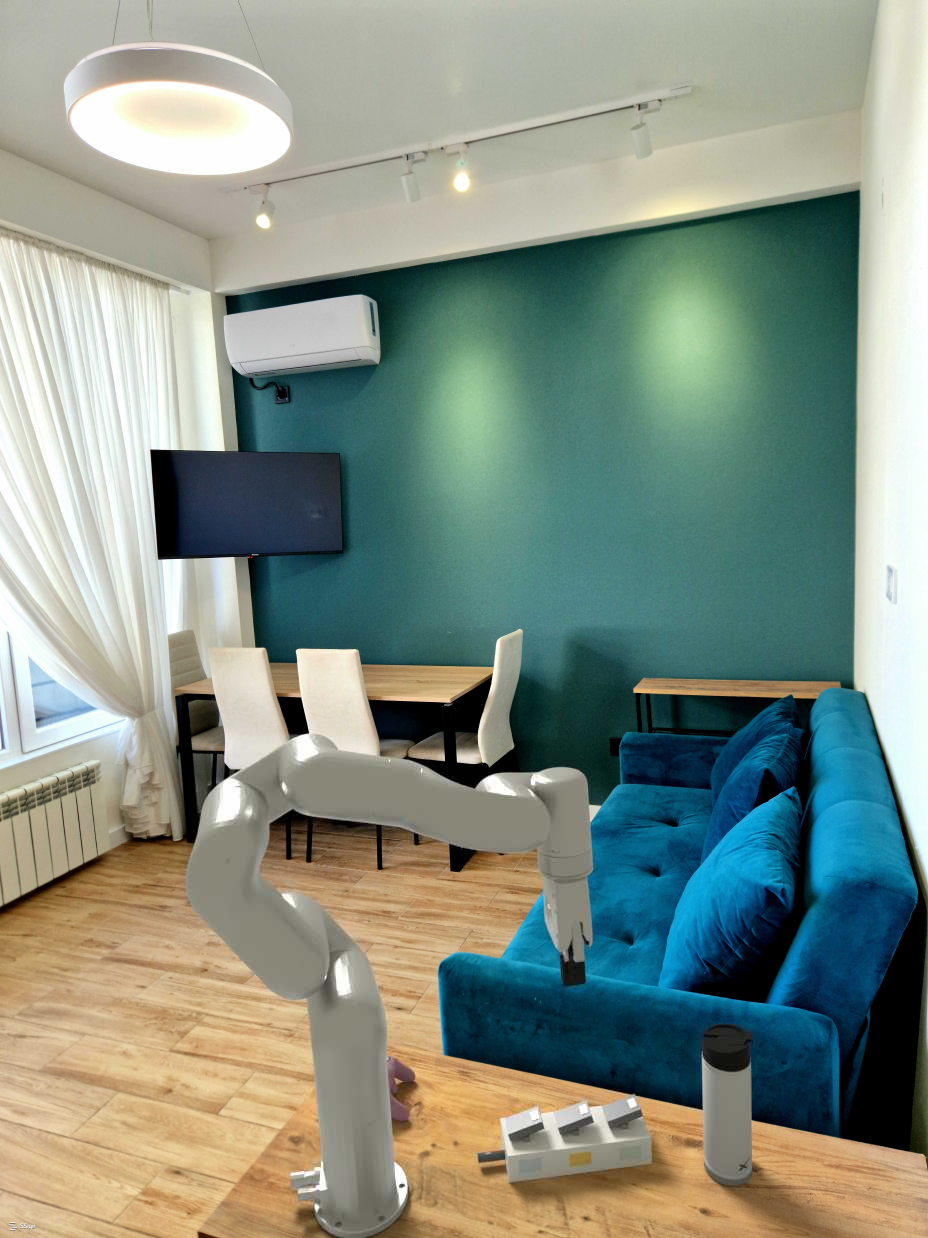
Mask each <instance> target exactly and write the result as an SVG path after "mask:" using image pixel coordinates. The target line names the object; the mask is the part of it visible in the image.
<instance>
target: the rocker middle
mask: <svg viewBox="0 0 928 1238" xmlns="http://www.w3.org/2000/svg"><path fill="white" fill-rule="evenodd" d="M589 1107H590V1106H589V1103H588V1101H587V1099H585V1100H582V1101H580V1102H577V1103H574V1104H572V1105H569V1106H567V1107H564V1108H561V1109H559V1110H556V1112H555V1111H552V1112H553V1113H554V1116H555V1120H556V1123H557V1127H558V1130H559V1133H560V1135H563V1134H565V1133H568V1132H571V1131H573V1130H576V1129H579V1128H581V1127H584V1126H586V1125H589V1124H592V1123H594V1120H593V1118H592V1115H591V1112H590V1109H589Z"/></svg>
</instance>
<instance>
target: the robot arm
mask: <svg viewBox="0 0 928 1238" xmlns="http://www.w3.org/2000/svg"><path fill="white" fill-rule="evenodd" d="M588 785H589V784H588V780H587V777H586V775H585V774H584V772H582V771H580V770H579V769H577V768H572V767H565V766H558V767H551V768H546V769H543V770H540V771H537V772H536V771H535V772H499V773H493V774H491V775H488V776H486V777H485V778H483V779H482V780H480V782H479V783H478V784H477V785H476V787H475V788H473V787H469V786H467V785H463V784H460V783H459V782H455V781H452V780H451V779H448V778H446V777H445V776H442V775H440V774H439V773H437V772H435V771H434V770H432V769H430V768H429V767H427V766H425V765H423V764H420V763H419V762H415V761H413V760H410V759H404V758H403V759H402V758H396V757H391V756H390V757H388V756H381V755H375V754H369V753H362V752H355V751H354V752H353V751H347V750H341V749H338V747H337V745H336V744H335V742H334V741H332V740H331V739H330V738H329V737H327V736H324V735H323V734H320V733H319V734H317V733H305V734H301V735H298V736H296V737H295V736H294V737H293V738H291V739H289V740H288V741H286V742H284V743H282V744H281V745H279V746H277V747H275V749H273V750H271V751H269V752H267V753H266V754H264V755H262V756H261V757H259V758H258V759H257V760H254V761H253V762H251V763H250V764H248V765H246V766H245V767H243V768H241V769H240V770H239V771H237V772H235V773H233V774H232V775H230V776H228V777H227V778H225V779H224V780H223V781H221V782H220V783H218V784H217V785H216V786H215V787H214V788H213V789H212V790H211V791H210V792H209V793H208V795H207V796H206V798H205V800H204V802H203V805H202V807H201V808H202V809H201V811H200V812H201V813H200V818H199V819H200V820H199V825H198V830H197V834H196V838H195V842H194V844H193V847H192V849H191V853H190V857H189V859H188V863H187V866H186V871H185V878H184V879H185V880H184V881H185V882H184V883H185V890H186V891H185V892H186V895H187V899H188V901H189V904H190V905H191V907H192V909H193V910H194V912H195V914H196V915H198V916H199V918H200V919H201V920H202V921H203V923H204V924H206V925H207V926H208V927H209V929H211V931H213V932H214V933H215V935H217V936H218V937H219V938H220V939H221V940H222V942H224V943H225V945H226V946H227V947H228V948H229V949H230V950H231V951H232V953H234V954H235V955H236V956H237V957H238V959H239V960H241V962H243V964H245V966H246V967H247V968H248V969H249V970H250V971H251V972H252V973H253V974H254V975H255V976H256V977H257V978H258V979H259V980H260V981H261V983H262V984H263V985H265V987H266V988H267V989H268V990H269V991H271V992H272V993H274V994H275V996H279V997H281V998H282V999H285V1000H290V1001H302V1000H306V1008H307V1015H308V1026H309V1034H310V1042H311V1043H310V1044H311V1045H310V1046H311V1051H312V1052H311V1053H312V1063H313V1064H312V1066H313V1076H314V1077H313V1078H314V1079H313V1080H314V1088H315V1099H316V1107H317V1109H316V1110H317V1119H318V1129H319V1141H320V1142H319V1143H320V1152H321V1153H320V1154H321V1165H320V1166H315V1167H314V1170H308V1171H307V1170H306V1171H305V1170H301V1171H295V1172H294V1171H293V1172H290V1190H291V1191H292V1190H297V1202H307V1201H309V1200H313V1211H314V1215H315V1218H316V1220H317V1222H318V1224H319V1225H320V1226H321V1227H322V1228H323V1230H325V1231H326V1232H327V1233H329V1234H331V1235H333V1236H335V1237H336V1238H337V1237H338V1238H367V1237H368V1238H369V1237H372V1236H375V1235H377V1234H378V1233H381V1232H383V1231H384V1230H385V1229H387V1228H388V1227H390V1226H391V1225H393V1223H395V1222H396V1220H397V1219H398V1218H399V1217H400V1216H401V1215H402V1213H403V1211H404V1209H405V1208H406V1205H407V1201H408V1197H409V1184H408V1179H407V1176H406V1173H405V1172H404V1170H403V1168H402V1167H401V1166H400V1165H398V1164H397V1162H395V1151H394V1139H393V1138H394V1137H393V1126H392V1124H393V1123H392V1118H391V1108H390V1095H389V1085H388V1071H387V1057H388V1052H387V1050H388V1025H387V1024H388V1023H387V1016H386V1012H385V1006H384V1003H383V1000H382V996H381V992H380V990H379V986H378V983H377V981H376V977H375V973H374V970H373V967H372V964H371V962H370V960H369V957H368V956H367V955H366V953H365V952H364V951H363V949H362V948H361V947H360V946H359V945H358V944H357V943H356V941H355V940H354V939H353V938H352V936H350V935H349V934H348V933H347V931H345V930H344V928H343V927H342V926H341V925H340V924H339V923H338V922H337V921H336V920H335V919H334V918H333V916H332V915H330V913H329V912H328V911H327V910H326V909H325V908H324V907H323V906H322V905H321V904H320V903H319V902H318V901H316V900H315V899H313V898H312V897H310V896H308V895H306V894H303V893H301V892H295V891H294V892H293V891H291V892H283V893H281V892H280V891H279V890H278V888H276V887H275V886H274V885H273V884H272V883H271V882H270V881H268V880H267V879H265V878H264V877H262V875H261V872H260V866H261V863H262V861H263V859H264V856H265V854H266V851H267V848H268V845H269V841H270V824H271V823H273V822H274V821H276V820H277V819H279V818H281V817H282V816H283V815H285V814H287V813H288V812H290V811H292V810H294V811H295V812H297V813H299V814H302V815H305V816H309V817H316V818H320V819H321V818H322V819H331V820H338V821H349V822H357V823H358V822H359V823H365V824H367V823H368V824H374V825H381V826H390V827H396V828H401V829H405V830H408V831H410V832H412V833H414V834H418V835H421V836H423V837H426V838H427V837H428V838H431V839H434V840H437V841H440V842H443V843H446V844H450V845H454V846H455V847H460V848H464V849H470V850H474V851H475V850H476V851H482V852H490V853H499V854H511V855H514V854H515V855H516V854H517V855H519V854H525V853H530V852H533V851H534V850H535V849H536V854H537V856H536V858H537V867H538V868H537V869H538V873H539V874H540V875H541V876H542V885H543V886H542V887H543V891H542V892H543V894H542V895H543V915H544V916H543V917H544V918H543V919H544V923H545V925H546V928H547V931H548V934H549V936H550V938H551V941H552V942H553V945H554V946H555V949H557V950H558V951H559V952H560V953H559V955H558V956H559V969H560V979H561V981H562V984H563V986H564V987H565V988H568V987H572V986H580V985H586V983H587V975H586V963H585V960H586V959H585V946H586V947H587V949H589V948H591V946H592V945H593V925H592V924H593V923H592V912H591V911H592V910H591V903H590V902H591V901H590V889H589V882H588V876H589V875H590V874H591V873H592V872H593V870H594V862H593V848H592V847H593V846H592V830H591V815H590V799H589V786H588ZM584 943H585V944H584ZM310 1187H311V1188H310Z"/></svg>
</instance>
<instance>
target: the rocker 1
mask: <svg viewBox="0 0 928 1238" xmlns="http://www.w3.org/2000/svg"><path fill="white" fill-rule="evenodd" d="M541 1113H542V1112H541V1111H540V1108H539V1105H538V1106H535V1107H531V1108H529V1109H526V1110H524V1111H521V1112H519V1113H516V1114H512V1115H510V1116H508V1117H504V1118H505V1122H506V1127H507V1132H508V1136H509V1139H510V1141H514V1140H517V1139H519V1138H522V1137H524V1136H527V1135H530V1134H532V1133H535V1132H538V1131H540V1130H543V1129H545V1128H544V1124H543V1121H542V1117H541Z"/></svg>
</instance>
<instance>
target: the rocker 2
mask: <svg viewBox="0 0 928 1238" xmlns="http://www.w3.org/2000/svg"><path fill="white" fill-rule="evenodd" d="M601 1106H602V1109H603V1112H604V1115H605V1118H606V1120H607V1123H608V1126H609V1128H610V1129H611V1128H614V1127H616V1126H619V1125H622V1124H624V1123H627V1122H630V1121H632V1120H635V1119H638V1118H640V1117H644V1115H643V1112H642V1108H641V1106H640V1104H639V1102H638V1099H637V1097H636V1095H635V1093H633V1094H631V1095H627V1096H625V1097H623V1098H620V1099H618V1100H615V1101H611V1102H610V1103H607V1104H604V1106H603V1105H601Z"/></svg>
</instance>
